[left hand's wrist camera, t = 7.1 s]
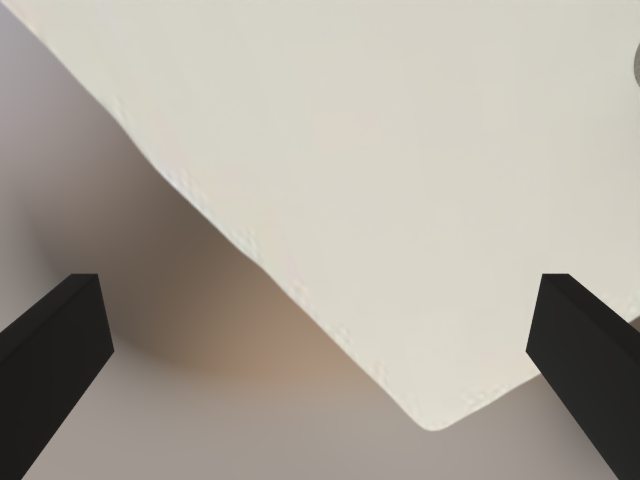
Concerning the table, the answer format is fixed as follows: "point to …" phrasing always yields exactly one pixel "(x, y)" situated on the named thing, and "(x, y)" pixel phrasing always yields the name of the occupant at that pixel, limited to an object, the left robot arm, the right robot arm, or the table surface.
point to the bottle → (637, 65)
